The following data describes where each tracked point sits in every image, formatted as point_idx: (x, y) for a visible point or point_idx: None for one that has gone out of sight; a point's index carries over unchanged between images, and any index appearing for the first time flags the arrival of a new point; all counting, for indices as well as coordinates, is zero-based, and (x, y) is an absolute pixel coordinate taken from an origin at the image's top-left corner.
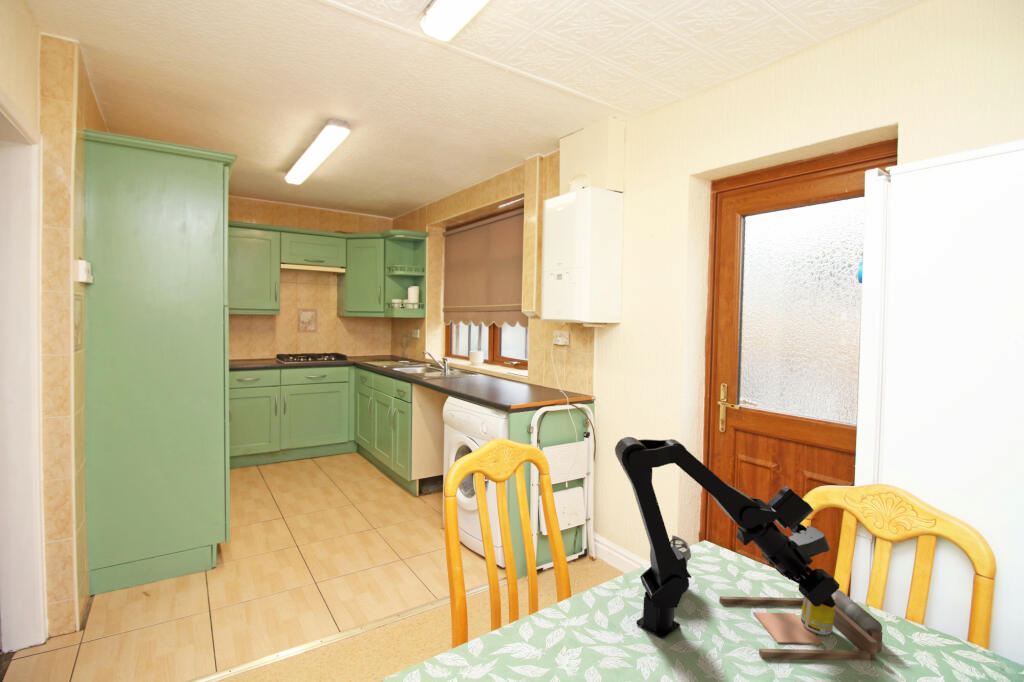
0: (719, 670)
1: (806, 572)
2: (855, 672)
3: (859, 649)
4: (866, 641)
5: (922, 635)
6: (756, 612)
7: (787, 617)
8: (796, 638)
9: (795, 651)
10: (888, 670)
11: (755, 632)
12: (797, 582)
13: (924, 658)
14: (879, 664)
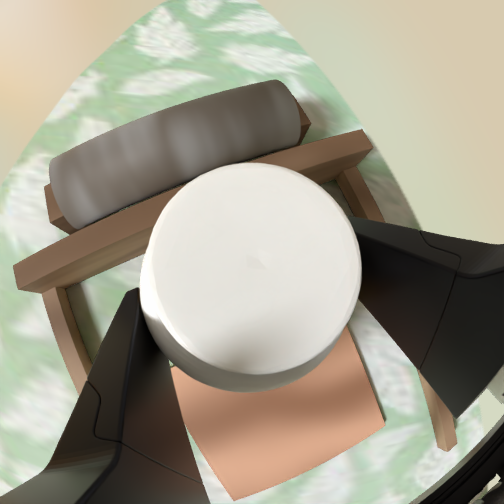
0: None
1: (131, 398)
2: (418, 229)
3: None
4: (352, 158)
5: (150, 42)
6: (228, 493)
7: (208, 404)
8: (345, 378)
9: None
10: None
11: (347, 480)
12: (186, 435)
13: (260, 58)
14: None
